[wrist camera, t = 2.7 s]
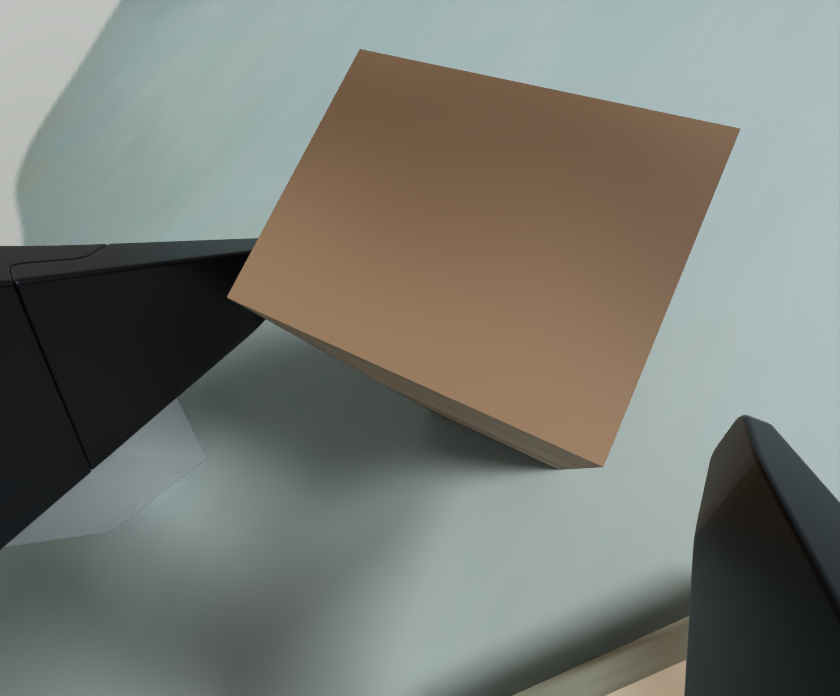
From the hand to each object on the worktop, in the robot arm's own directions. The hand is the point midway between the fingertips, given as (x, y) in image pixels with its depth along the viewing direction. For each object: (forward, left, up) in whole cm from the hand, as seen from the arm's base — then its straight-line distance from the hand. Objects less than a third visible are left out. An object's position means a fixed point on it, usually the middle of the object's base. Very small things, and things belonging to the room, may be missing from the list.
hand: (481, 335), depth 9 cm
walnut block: (0, 0, -8) cm, 8 cm away
